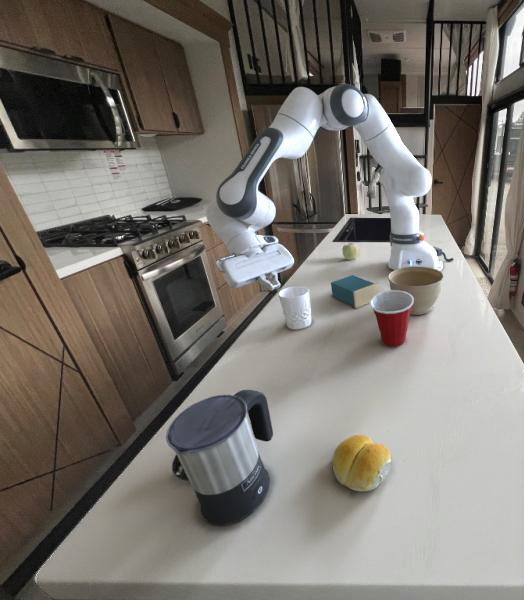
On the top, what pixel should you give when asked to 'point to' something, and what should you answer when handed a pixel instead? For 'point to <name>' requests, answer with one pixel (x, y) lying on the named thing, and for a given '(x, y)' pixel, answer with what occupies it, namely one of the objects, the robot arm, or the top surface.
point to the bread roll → (361, 463)
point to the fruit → (350, 251)
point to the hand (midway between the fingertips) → (275, 288)
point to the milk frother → (223, 454)
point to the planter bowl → (418, 286)
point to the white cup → (296, 306)
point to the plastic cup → (392, 315)
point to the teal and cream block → (354, 290)
